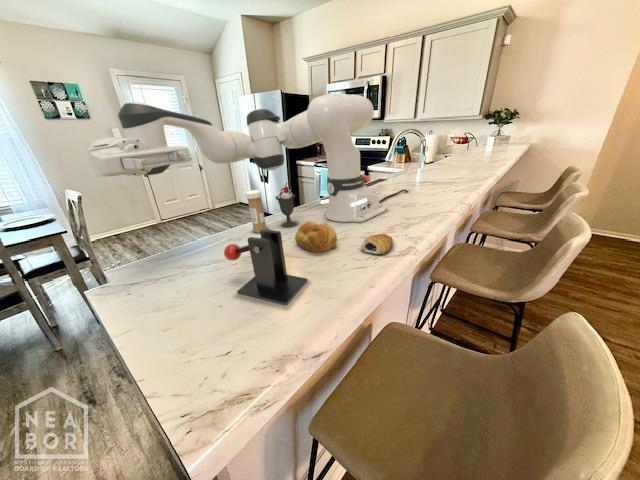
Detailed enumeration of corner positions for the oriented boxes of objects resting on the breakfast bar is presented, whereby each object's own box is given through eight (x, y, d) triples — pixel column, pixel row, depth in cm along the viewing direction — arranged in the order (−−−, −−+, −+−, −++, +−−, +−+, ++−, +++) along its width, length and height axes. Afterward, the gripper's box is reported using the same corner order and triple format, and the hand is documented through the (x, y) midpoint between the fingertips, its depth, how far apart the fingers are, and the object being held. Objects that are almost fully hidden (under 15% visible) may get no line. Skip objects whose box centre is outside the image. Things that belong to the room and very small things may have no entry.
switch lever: (225, 264, 57) (217, 250, 56) (236, 257, 60) (229, 243, 59) (269, 254, 50) (261, 237, 49) (279, 246, 53) (272, 230, 52)
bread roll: (288, 246, 76) (284, 220, 72) (313, 235, 82) (310, 210, 78) (319, 260, 67) (316, 231, 64) (344, 246, 73) (343, 219, 70)
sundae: (293, 228, 88) (288, 184, 82) (276, 227, 90) (269, 183, 84) (301, 221, 93) (297, 179, 87) (285, 220, 96) (279, 179, 89)
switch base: (238, 295, 55) (224, 240, 50) (263, 274, 63) (253, 224, 57) (286, 308, 50) (277, 248, 45) (308, 283, 58) (302, 229, 52)
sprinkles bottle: (269, 230, 88) (262, 191, 82) (256, 234, 86) (248, 193, 80) (263, 226, 91) (257, 188, 86) (251, 230, 89) (243, 191, 84)
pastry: (377, 238, 76) (377, 226, 74) (399, 244, 72) (399, 231, 70) (358, 251, 70) (358, 238, 68) (381, 258, 66) (382, 244, 64)
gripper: (175, 163, 75) (206, 167, 68) (89, 177, 59) (120, 184, 52) (168, 140, 72) (201, 141, 65) (77, 148, 56) (108, 150, 50)
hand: (164, 160), depth 59 cm, fingers open, 8 cm apart
